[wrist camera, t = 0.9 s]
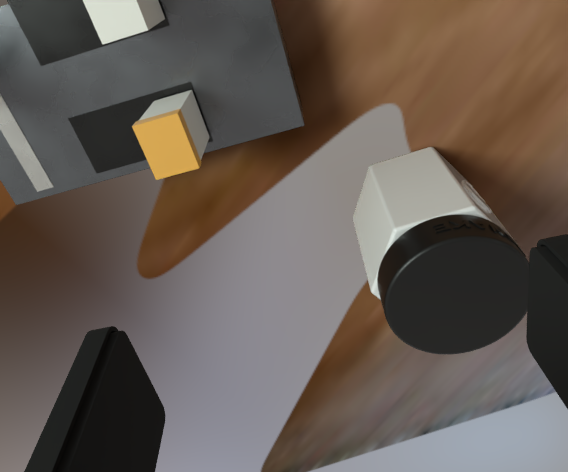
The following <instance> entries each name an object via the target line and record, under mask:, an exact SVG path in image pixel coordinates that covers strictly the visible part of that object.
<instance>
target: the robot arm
mask: <svg viewBox="0 0 568 472" xmlns="http://www.w3.org/2000/svg"><path fill="white" fill-rule="evenodd" d="M526 337H527V344H528V347H529V350H530V352H531V354H532V356H533V357H534V359H535V360H536V362H537V363H538V365H539V366H540V368H541V369H542V371H543V372H544V374H545V375H546V377H547V378H548V380H549V381H550V383H551V384H552V386H553V387H554V389H555V390H556V392H557V394H558V395H559V397H560V398H561V400H562V401H563V403H564V404H565V406H566V407H567V408H568V235H567V234H565V235H560V236H556V237H551V238H546V239H541V240H539V241H538V243H537V247H535V248H532V249H531V250H530V260H529V286H528V311H527V336H526ZM164 424H165V411H164V407H163V405H162V403H161V401H160V399H159V397H158V395H157V393H156V391H155V389H154V387H153V385H152V383H151V381H150V379H149V377H148V375H147V373H146V372H145V369H144V368H143V365H142V364H141V362H140V360H139V358H138V356H137V354H136V352H135V350H134V348H133V346H132V344H131V342H130V340H129V338H128V336H127V335H126V333H125V332H124V331H118V329H117V328H116V327H113V326H111V327H107V328H102V329H96V330H91V331H89V332H88V333H87V334H86V336H85V338H84V341H83V343H82V345H81V347H80V349H79V352H78V354H77V356H76V358H75V360H74V363H73V365H72V367H71V370H70V372H69V374H68V376H67V378H66V381H65V383H64V385H63V387H62V390H61V392H60V394H59V396H58V398H57V401H56V403H55V405H54V407H53V409H52V411H51V414H50V416H49V418H48V420H47V423H46V425H45V427H44V429H43V431H42V434H41V436H40V438H39V440H38V443H37V445H36V447H35V449H34V452H33V454H32V456H31V458H30V460H29V463H28V465H27V467H26V469H25V471H24V472H155V468H156V463H157V458H158V454H159V449H160V443H161V438H162V434H163V429H164Z"/></svg>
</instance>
